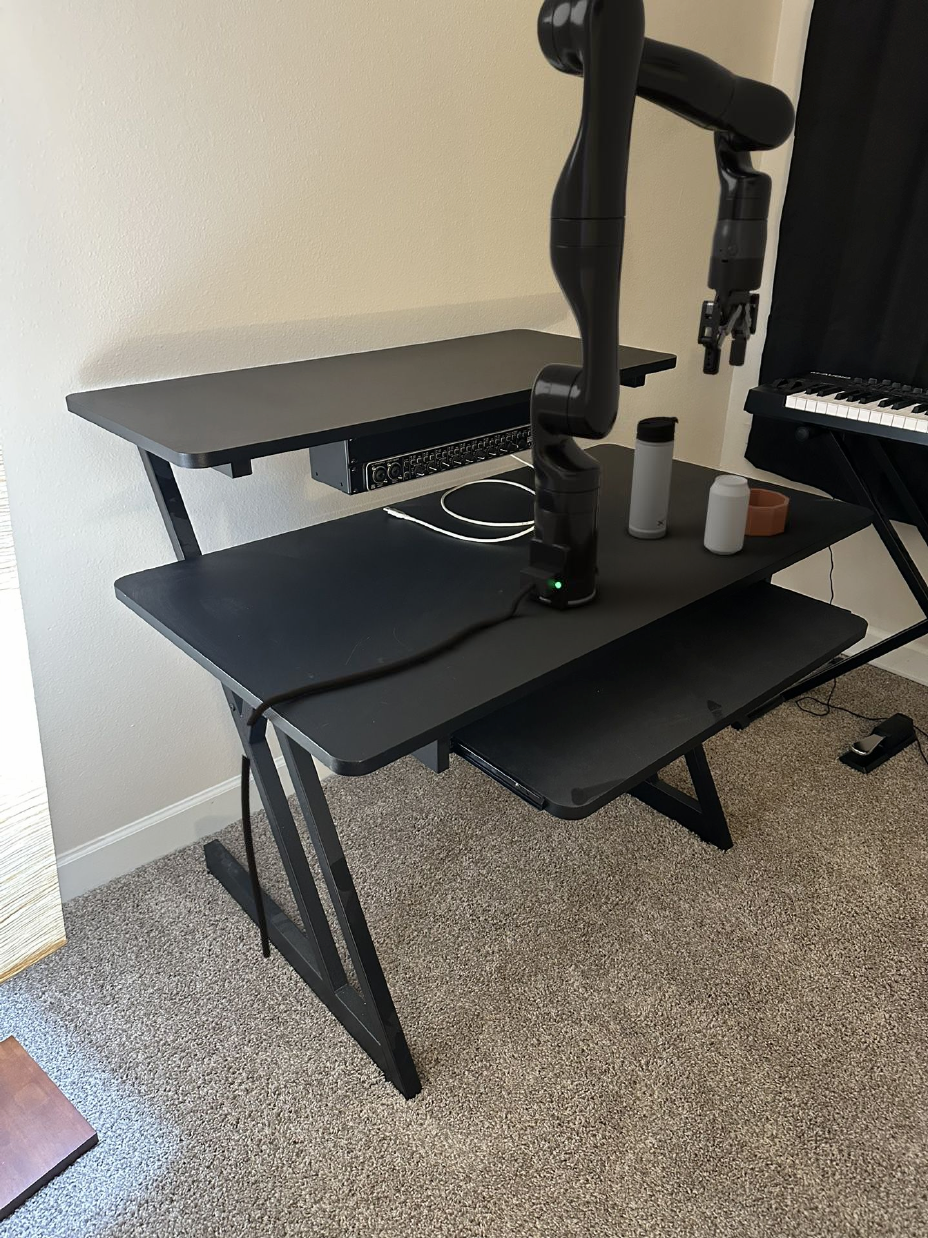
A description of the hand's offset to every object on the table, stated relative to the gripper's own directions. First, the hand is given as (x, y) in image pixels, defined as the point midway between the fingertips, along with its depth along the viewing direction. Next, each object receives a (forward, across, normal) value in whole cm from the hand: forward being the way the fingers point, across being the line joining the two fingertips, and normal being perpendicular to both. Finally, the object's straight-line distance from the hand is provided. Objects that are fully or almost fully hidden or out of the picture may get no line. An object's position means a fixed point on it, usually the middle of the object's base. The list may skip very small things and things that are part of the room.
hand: (723, 369), depth 135 cm
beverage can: (+29, -2, +2) cm, 30 cm away
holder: (+29, -16, +2) cm, 33 cm away
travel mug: (+29, -1, -11) cm, 31 cm away
